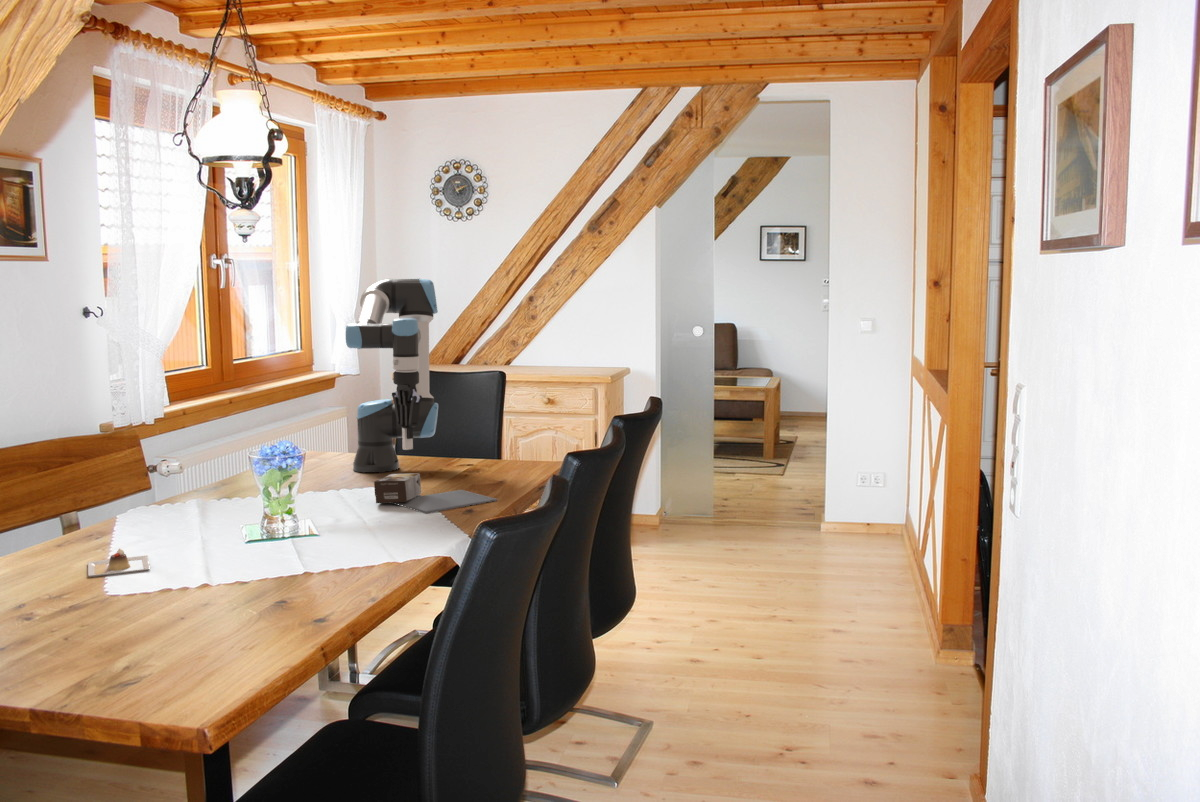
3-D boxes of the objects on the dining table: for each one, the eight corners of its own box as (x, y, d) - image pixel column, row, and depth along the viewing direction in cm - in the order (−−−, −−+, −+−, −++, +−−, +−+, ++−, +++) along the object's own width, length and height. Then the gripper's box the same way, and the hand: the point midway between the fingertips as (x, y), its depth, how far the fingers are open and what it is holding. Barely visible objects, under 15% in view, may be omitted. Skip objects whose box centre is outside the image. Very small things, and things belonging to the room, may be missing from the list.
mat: (391, 502, 282) (391, 500, 282) (461, 491, 298) (461, 489, 298) (425, 513, 269) (425, 511, 268) (497, 501, 285) (497, 498, 285)
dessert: (88, 580, 208) (86, 558, 207) (88, 566, 218) (86, 545, 218) (150, 573, 213) (149, 551, 213) (147, 560, 224) (146, 539, 223)
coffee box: (391, 495, 293) (374, 504, 277) (390, 473, 293) (372, 481, 277) (422, 493, 292) (406, 502, 276) (420, 472, 292) (404, 479, 276)
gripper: (383, 369, 296) (385, 447, 299) (407, 373, 286) (408, 453, 289) (405, 368, 301) (406, 444, 304) (429, 371, 291) (430, 450, 294)
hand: (407, 449), depth 297 cm, fingers closed
